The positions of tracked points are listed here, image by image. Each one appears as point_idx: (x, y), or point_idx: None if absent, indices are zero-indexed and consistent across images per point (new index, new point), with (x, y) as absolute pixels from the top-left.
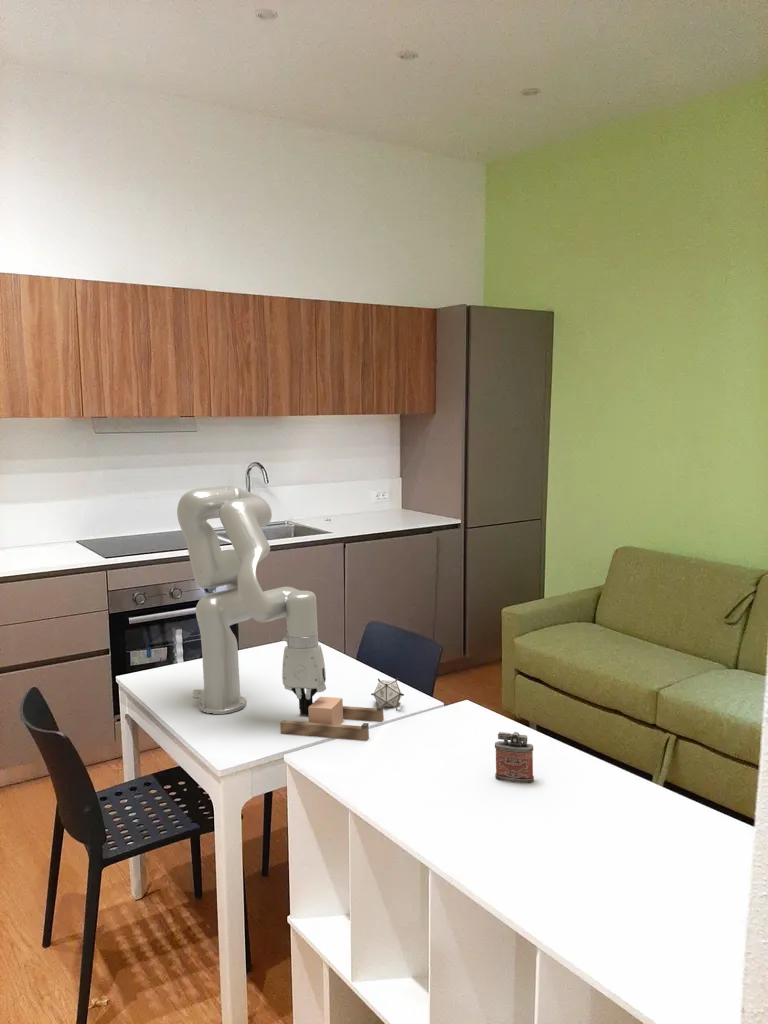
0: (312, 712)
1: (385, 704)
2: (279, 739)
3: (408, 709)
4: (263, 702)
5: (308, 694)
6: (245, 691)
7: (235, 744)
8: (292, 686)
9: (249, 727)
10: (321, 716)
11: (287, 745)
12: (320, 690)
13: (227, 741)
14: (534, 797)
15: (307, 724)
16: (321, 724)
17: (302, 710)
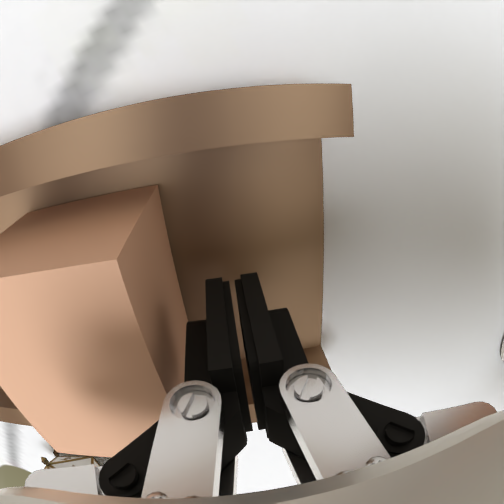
0: (92, 242)
1: (60, 461)
2: (311, 74)
3: (43, 454)
4: (463, 381)
5: (182, 431)
6: (494, 396)
7: (463, 4)
8: (444, 457)
9: (485, 193)
10: (33, 241)
11: (218, 9)
12: (63, 481)
13: (497, 38)
14: None
15: (99, 114)
16: (11, 164)
17: (244, 290)
